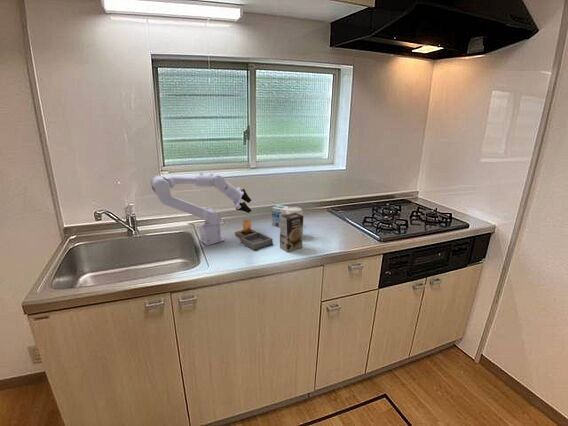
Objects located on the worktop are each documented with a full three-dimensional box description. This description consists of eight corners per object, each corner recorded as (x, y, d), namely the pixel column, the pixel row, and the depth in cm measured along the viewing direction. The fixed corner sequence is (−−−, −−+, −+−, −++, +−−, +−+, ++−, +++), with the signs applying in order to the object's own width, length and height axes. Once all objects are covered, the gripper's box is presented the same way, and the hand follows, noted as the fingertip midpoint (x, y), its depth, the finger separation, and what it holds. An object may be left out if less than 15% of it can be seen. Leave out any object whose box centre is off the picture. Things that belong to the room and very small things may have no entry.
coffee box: (287, 252, 144) (288, 219, 139) (279, 247, 149) (279, 215, 144) (302, 247, 149) (304, 215, 144) (294, 243, 154) (295, 211, 149)
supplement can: (292, 232, 167) (293, 205, 163) (305, 236, 162) (306, 208, 158) (282, 237, 161) (283, 209, 157) (295, 241, 156) (296, 212, 152)
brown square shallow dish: (244, 240, 156) (244, 236, 156) (235, 235, 163) (235, 231, 162) (259, 236, 162) (259, 232, 161) (249, 231, 168) (249, 227, 167)
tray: (253, 250, 146) (253, 244, 145) (240, 243, 154) (240, 237, 153) (272, 244, 153) (272, 238, 152) (259, 237, 160) (258, 232, 160)
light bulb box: (271, 225, 177) (271, 207, 173) (277, 222, 182) (277, 204, 179) (288, 229, 172) (288, 210, 169) (293, 225, 178) (294, 207, 174)
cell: (246, 238, 160) (245, 221, 157) (241, 235, 162) (241, 219, 160) (252, 236, 162) (252, 219, 159) (248, 233, 165) (247, 217, 162)
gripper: (236, 197, 147) (255, 212, 155) (236, 178, 158) (255, 193, 165) (225, 204, 150) (245, 219, 158) (226, 185, 160) (245, 200, 168)
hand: (249, 206), depth 162 cm, fingers open, 7 cm apart
